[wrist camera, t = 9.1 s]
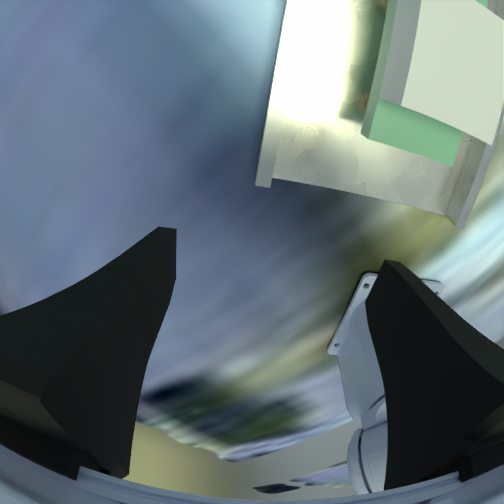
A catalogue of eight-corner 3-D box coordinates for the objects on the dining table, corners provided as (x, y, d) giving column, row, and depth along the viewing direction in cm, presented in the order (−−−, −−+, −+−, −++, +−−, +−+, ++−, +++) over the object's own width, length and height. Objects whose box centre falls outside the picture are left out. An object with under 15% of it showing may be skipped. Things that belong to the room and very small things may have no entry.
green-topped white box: (441, 159, 14) (477, 185, 11) (360, 133, 13) (387, 154, 10) (474, 0, 8) (516, -4, 5) (393, -43, 8) (426, -63, 5)
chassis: (447, 212, 19) (469, 236, 16) (256, 170, 18) (254, 192, 15) (498, -7, 9) (528, -9, 6) (303, -93, 8) (310, -117, 5)
